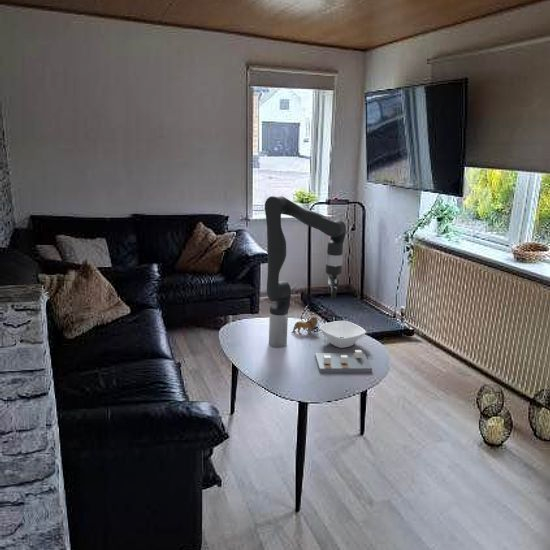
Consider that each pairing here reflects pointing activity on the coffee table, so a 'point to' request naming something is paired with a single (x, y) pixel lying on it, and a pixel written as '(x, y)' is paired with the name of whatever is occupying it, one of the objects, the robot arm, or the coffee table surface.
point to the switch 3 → (358, 354)
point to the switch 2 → (344, 359)
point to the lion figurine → (306, 325)
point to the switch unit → (337, 366)
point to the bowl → (342, 333)
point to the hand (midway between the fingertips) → (331, 296)
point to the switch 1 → (327, 359)
